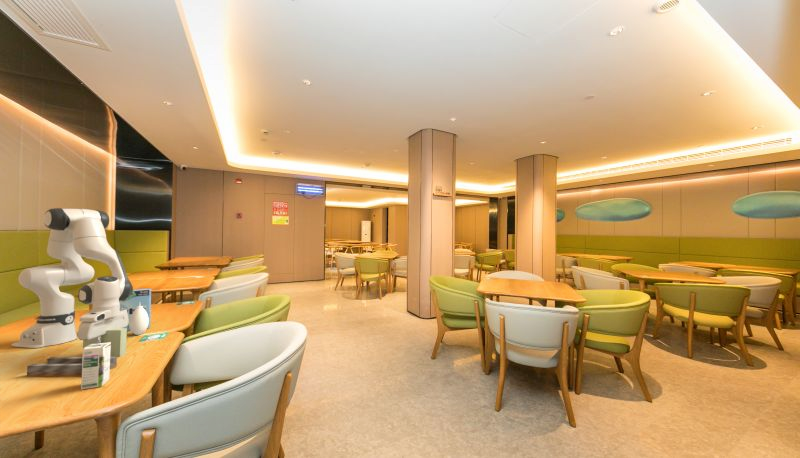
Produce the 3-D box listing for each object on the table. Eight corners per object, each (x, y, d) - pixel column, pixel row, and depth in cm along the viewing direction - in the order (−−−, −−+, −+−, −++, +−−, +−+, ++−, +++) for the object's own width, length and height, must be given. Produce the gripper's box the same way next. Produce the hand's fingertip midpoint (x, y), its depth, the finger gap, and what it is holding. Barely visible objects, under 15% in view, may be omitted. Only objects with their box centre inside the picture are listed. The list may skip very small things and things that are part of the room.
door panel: (82, 357, 129) (83, 330, 129) (89, 354, 132) (90, 328, 132) (119, 357, 130) (120, 330, 130) (125, 354, 133) (126, 328, 133)
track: (26, 376, 111) (27, 365, 112) (50, 366, 119) (51, 357, 119) (97, 375, 113) (97, 365, 113) (116, 366, 121) (116, 356, 121)
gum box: (150, 326, 172) (151, 288, 173) (148, 328, 168) (150, 289, 169) (104, 332, 162) (106, 291, 162) (102, 334, 157) (103, 292, 158)
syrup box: (80, 390, 102) (81, 348, 103) (89, 382, 108) (91, 343, 108) (101, 387, 104) (103, 346, 105) (110, 379, 110) (111, 341, 110)
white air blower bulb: (139, 331, 163) (141, 299, 163) (151, 332, 162) (153, 300, 162) (124, 336, 155) (126, 302, 156) (137, 337, 154) (138, 303, 154)
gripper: (119, 306, 142) (118, 335, 141) (75, 318, 121) (73, 352, 121) (133, 306, 142) (132, 335, 142) (90, 319, 122) (89, 352, 121)
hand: (104, 343), depth 131 cm, fingers open, 4 cm apart
